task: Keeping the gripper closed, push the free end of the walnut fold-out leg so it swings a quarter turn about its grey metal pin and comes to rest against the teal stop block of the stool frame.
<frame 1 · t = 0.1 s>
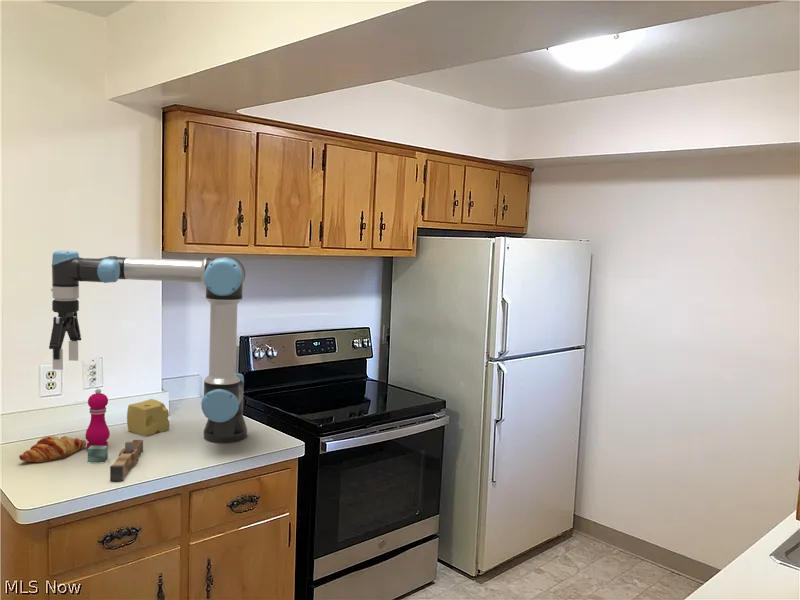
hand: (65, 364, 208), 28 cm above the worktop, tool pointing down, fingers open, 13 cm apart
pepper mill: (97, 448, 213), on the worktop
leg: (123, 463, 195), point 2 cm above the worktop, hinge at 90.0°
cheese: (148, 431, 233), on the worktop
croissant: (54, 457, 204), on the worktop
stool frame: (128, 464, 200), on the worktop
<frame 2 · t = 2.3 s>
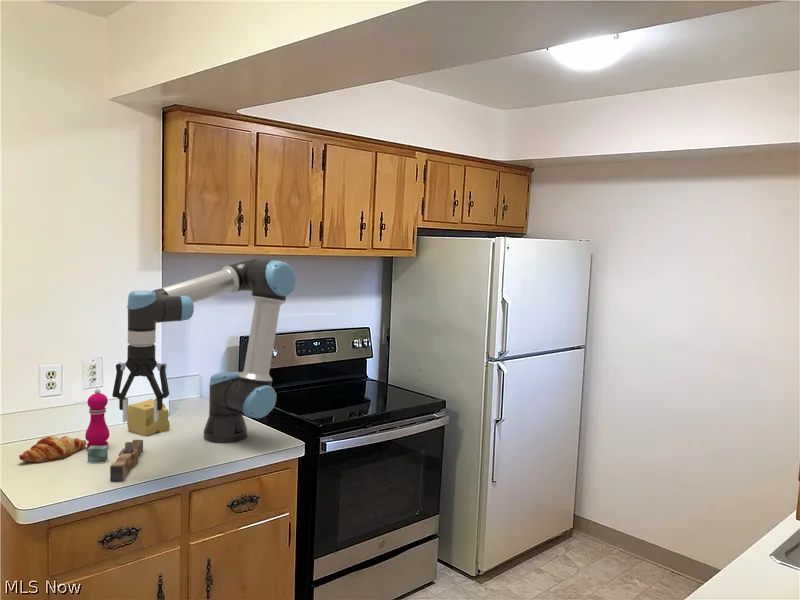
hand: (140, 420, 189), 17 cm above the worktop, tool pointing down, fingers open, 8 cm apart
nothing on the worktop moved.
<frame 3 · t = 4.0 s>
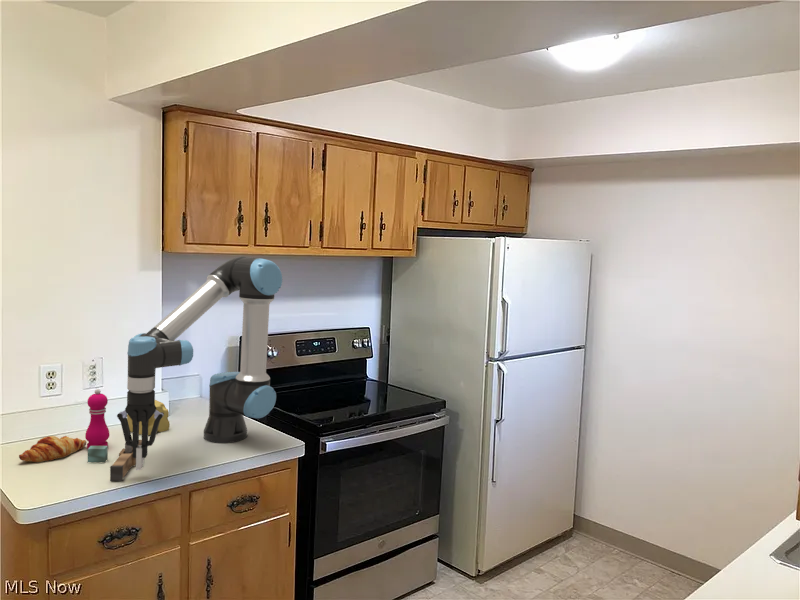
hand: (139, 468, 191), 3 cm above the worktop, tool pointing down, fingers closed
nothing on the worktop moved.
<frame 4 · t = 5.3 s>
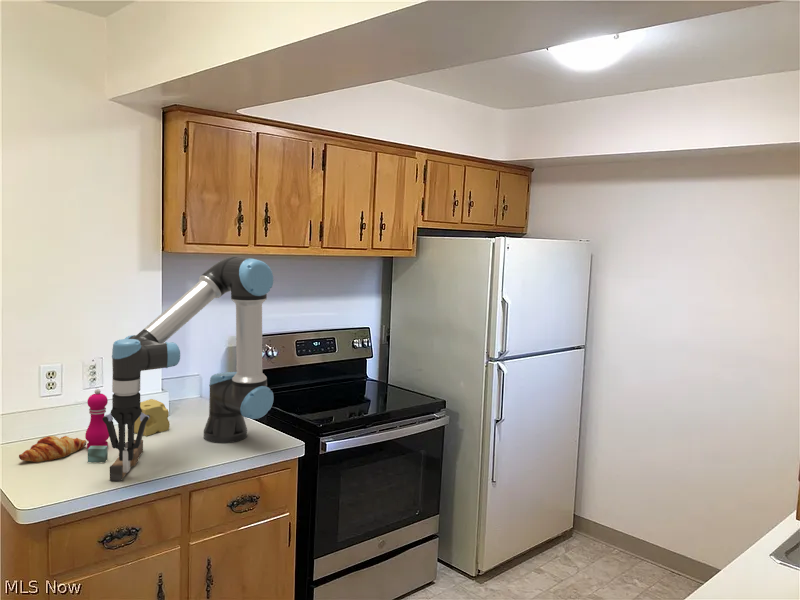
hand: (126, 470, 190), 2 cm above the worktop, tool pointing down, fingers closed
leg: (123, 463, 195), point 2 cm above the worktop, hinge at 89.4°, touching gripper
everything else where it was.
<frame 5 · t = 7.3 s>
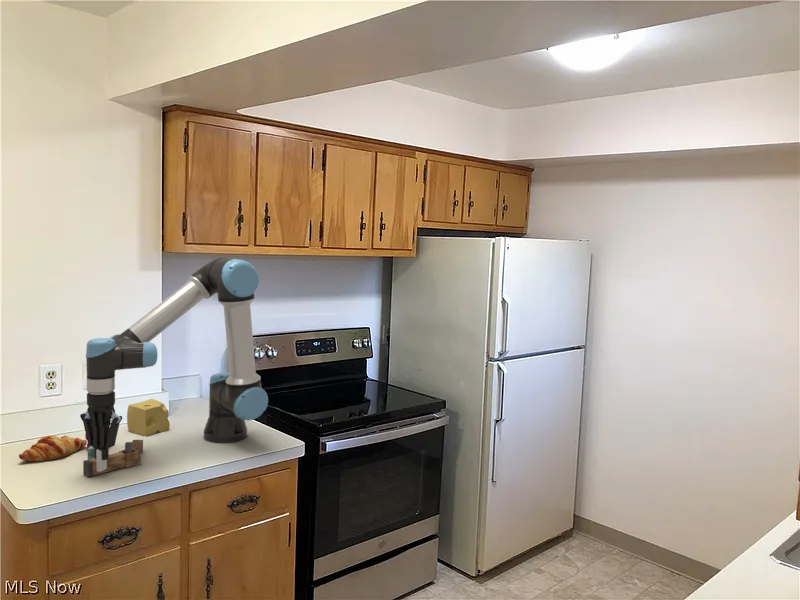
hand: (101, 469, 190), 2 cm above the worktop, tool pointing down, fingers closed
leg: (112, 461, 196), point 2 cm above the worktop, hinge at 44.2°, touching gripper
everything else where it was.
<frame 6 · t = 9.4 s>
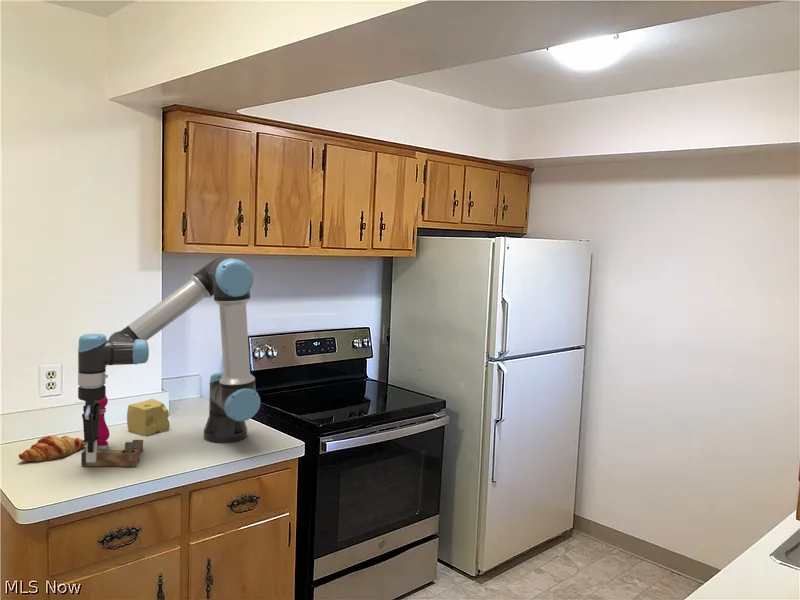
hand: (91, 461, 196), 2 cm above the worktop, tool pointing down, fingers closed
leg: (110, 457, 199), point 2 cm above the worktop, hinge at -0.2°, touching gripper
everything else where it was.
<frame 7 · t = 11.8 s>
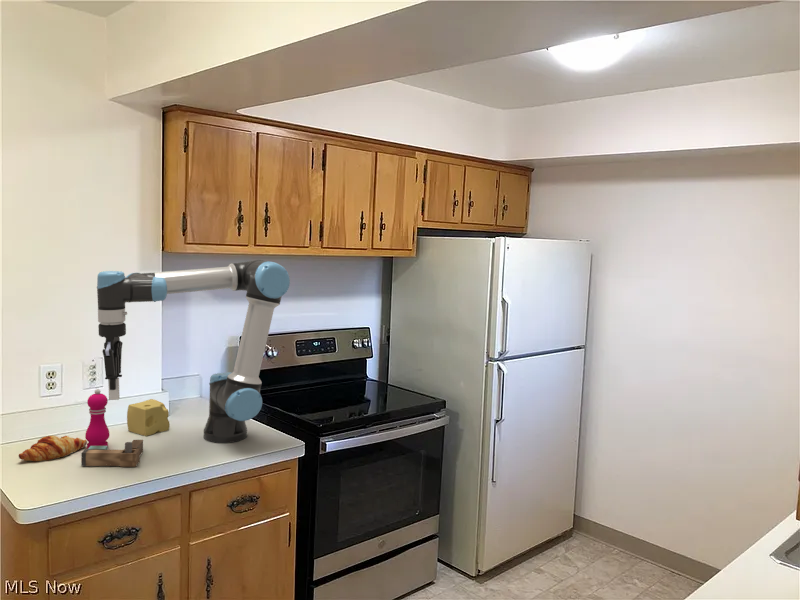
hand: (114, 399, 197), 21 cm above the worktop, tool pointing down, fingers closed
leg: (110, 457, 199), point 2 cm above the worktop, hinge at -0.2°
everything else where it was.
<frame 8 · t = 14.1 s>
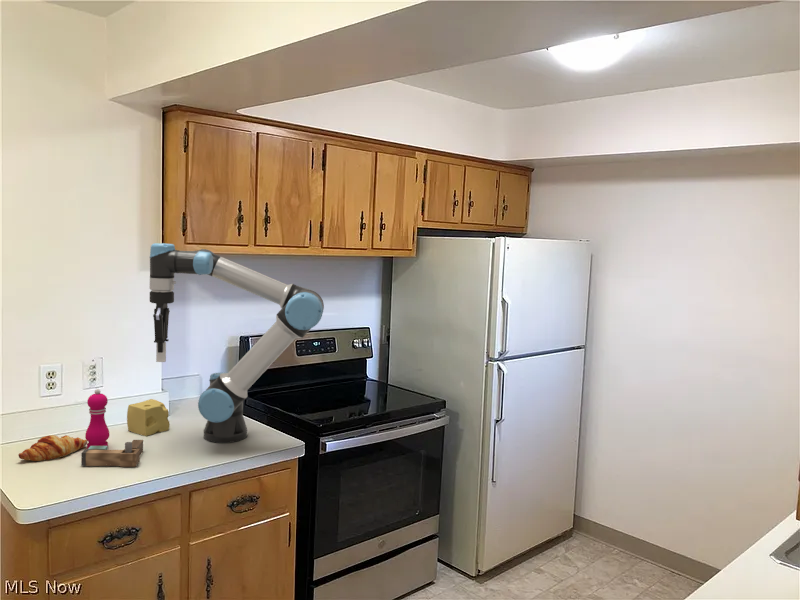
hand: (161, 361, 214), 29 cm above the worktop, tool pointing down, fingers closed
nothing on the worktop moved.
at the end: leg at +0° (first picture: +90°) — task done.
